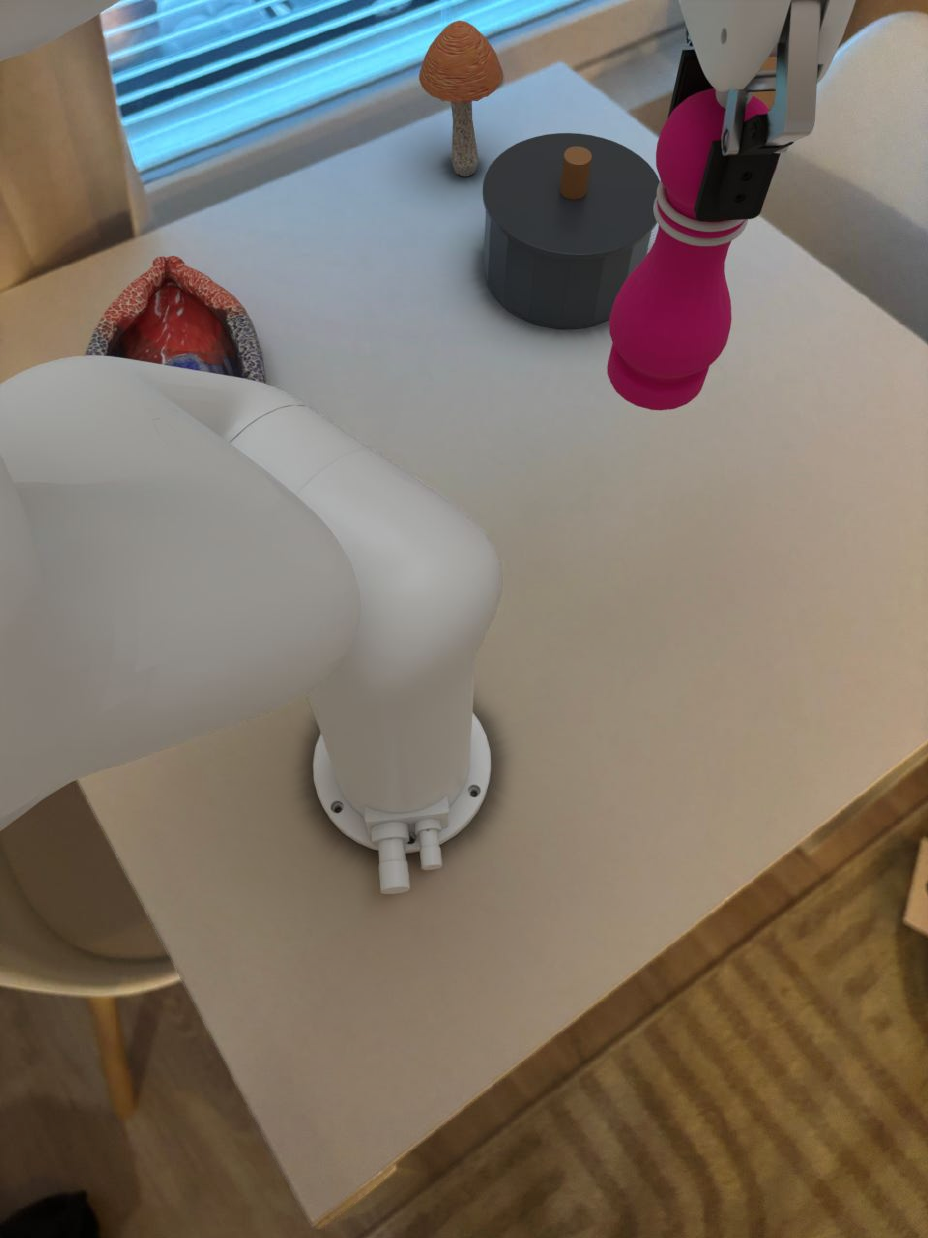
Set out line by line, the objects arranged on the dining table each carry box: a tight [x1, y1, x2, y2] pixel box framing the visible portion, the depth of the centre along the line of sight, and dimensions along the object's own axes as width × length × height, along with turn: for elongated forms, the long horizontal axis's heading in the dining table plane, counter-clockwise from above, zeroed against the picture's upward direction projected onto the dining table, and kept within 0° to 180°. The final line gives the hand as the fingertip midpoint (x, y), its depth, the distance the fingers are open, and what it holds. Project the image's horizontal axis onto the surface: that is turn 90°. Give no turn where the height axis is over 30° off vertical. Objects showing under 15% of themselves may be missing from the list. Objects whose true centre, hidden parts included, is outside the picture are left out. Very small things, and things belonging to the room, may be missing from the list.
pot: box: [483, 210, 653, 330], centre depth 87 cm, size 15×15×8 cm
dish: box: [84, 255, 267, 384], centre depth 80 cm, size 16×31×5 cm, turn 5°
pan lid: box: [481, 132, 661, 259], centre depth 82 cm, size 16×16×5 cm
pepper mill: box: [606, 88, 780, 411], centre depth 52 cm, size 7×7×20 cm
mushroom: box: [418, 20, 504, 177], centre depth 91 cm, size 8×8×15 cm
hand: (711, 167), depth 48 cm, fingers closed on pepper mill, 6 cm apart
